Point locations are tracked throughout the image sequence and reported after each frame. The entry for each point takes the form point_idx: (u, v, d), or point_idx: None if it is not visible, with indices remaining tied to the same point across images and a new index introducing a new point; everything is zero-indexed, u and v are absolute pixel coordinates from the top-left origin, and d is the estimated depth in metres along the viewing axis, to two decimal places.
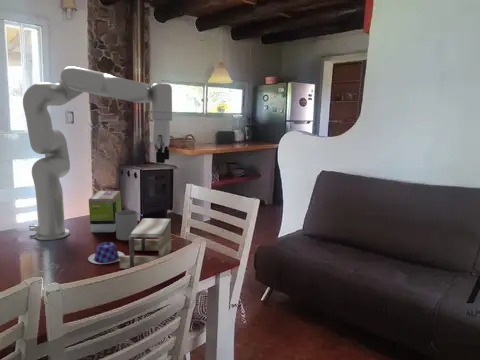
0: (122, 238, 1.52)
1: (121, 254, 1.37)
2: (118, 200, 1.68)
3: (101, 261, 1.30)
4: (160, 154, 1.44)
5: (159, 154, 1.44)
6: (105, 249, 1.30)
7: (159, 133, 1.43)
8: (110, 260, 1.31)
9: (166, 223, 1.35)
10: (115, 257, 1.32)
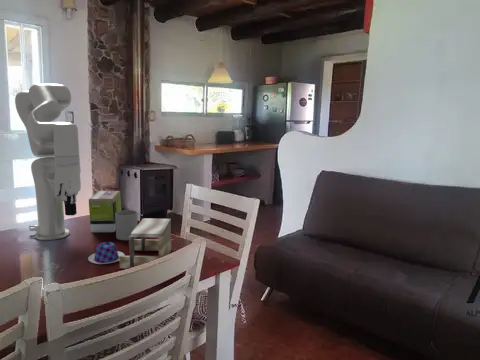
0: (122, 238, 1.52)
1: (121, 254, 1.37)
2: (118, 200, 1.68)
3: (102, 261, 1.30)
4: (69, 206, 1.29)
5: (67, 206, 1.29)
6: (106, 249, 1.30)
7: (61, 181, 1.23)
8: (111, 260, 1.31)
9: (166, 223, 1.35)
10: (116, 257, 1.33)
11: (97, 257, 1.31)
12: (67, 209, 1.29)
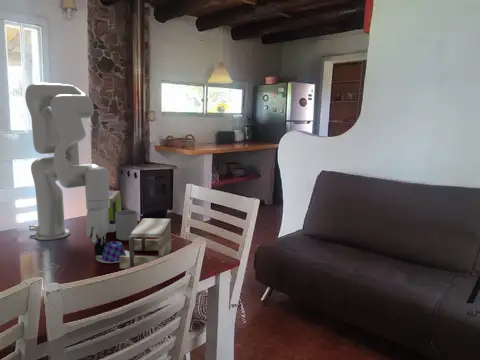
0: (122, 238, 1.52)
1: (127, 252, 1.38)
2: (118, 200, 1.68)
3: (111, 260, 1.30)
4: (99, 247, 1.32)
5: (98, 247, 1.32)
6: (114, 248, 1.31)
7: (92, 225, 1.26)
8: None
9: (166, 223, 1.35)
10: (124, 255, 1.33)
11: (106, 256, 1.31)
12: (97, 250, 1.32)
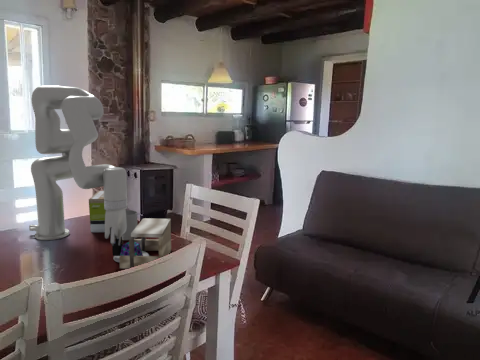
0: None
1: (144, 253, 1.38)
2: None
3: None
4: (116, 247, 1.32)
5: (115, 247, 1.32)
6: None
7: (111, 225, 1.27)
8: None
9: (166, 223, 1.35)
10: None
11: None
12: (115, 250, 1.32)
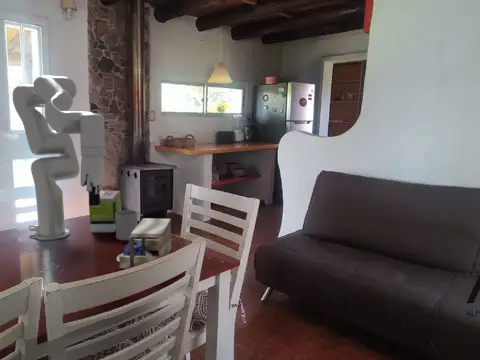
0: (122, 238, 1.52)
1: (147, 253, 1.38)
2: (118, 200, 1.68)
3: None
4: (93, 196, 1.29)
5: (92, 196, 1.29)
6: (135, 249, 1.31)
7: (87, 172, 1.23)
8: None
9: (166, 223, 1.35)
10: None
11: None
12: (91, 199, 1.29)
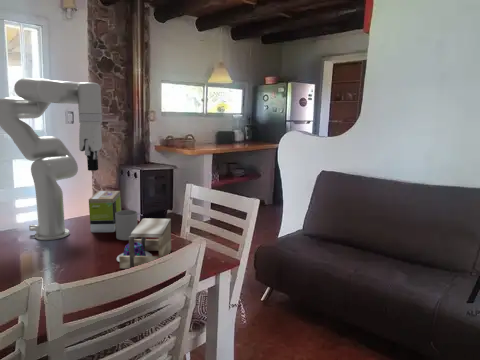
0: (122, 238, 1.52)
1: (148, 254, 1.38)
2: (118, 200, 1.68)
3: None
4: (91, 161, 1.37)
5: (90, 161, 1.37)
6: (135, 249, 1.31)
7: (85, 137, 1.31)
8: None
9: (166, 223, 1.35)
10: None
11: None
12: (90, 164, 1.37)
